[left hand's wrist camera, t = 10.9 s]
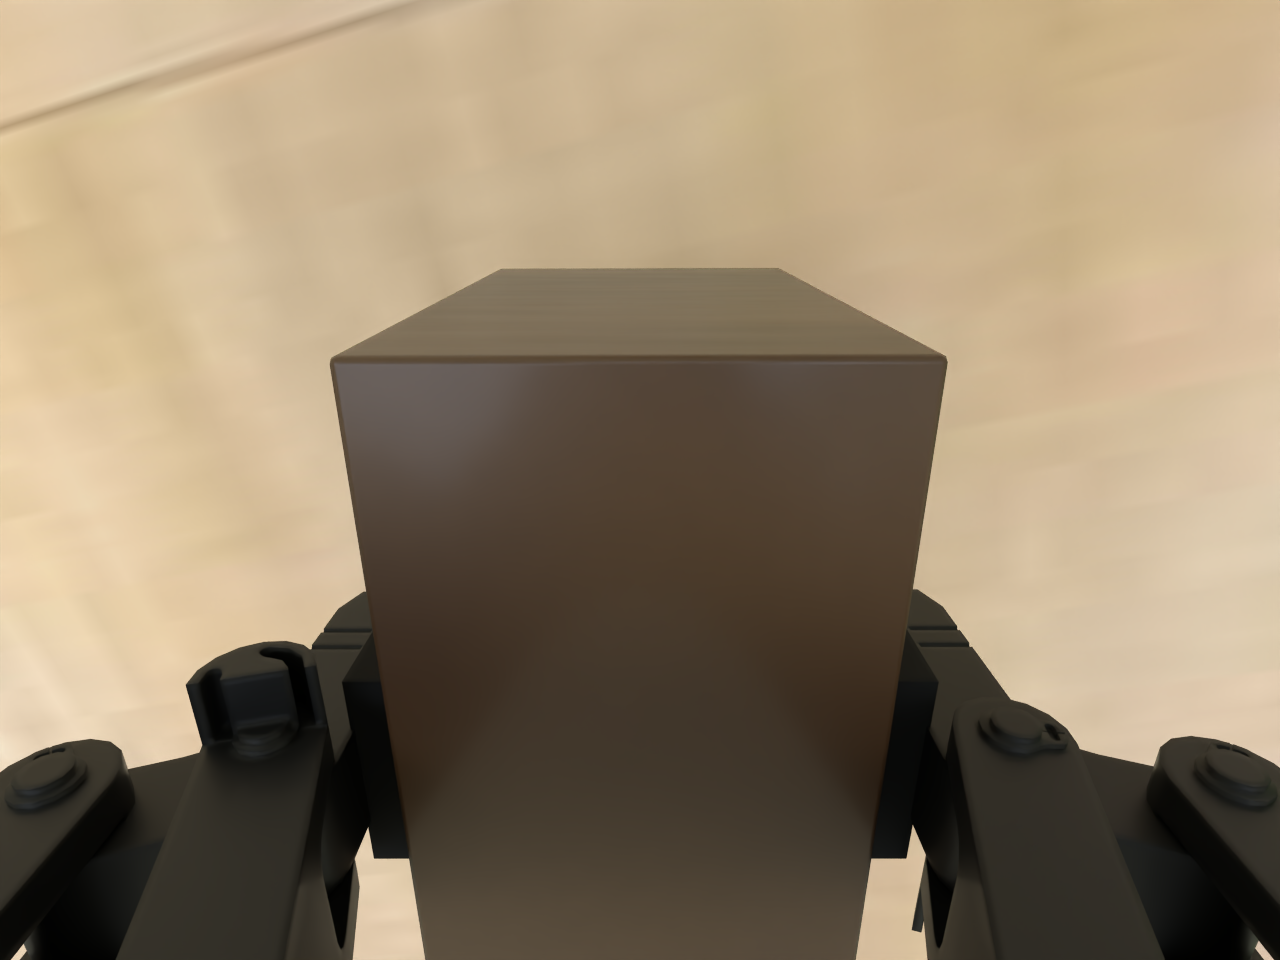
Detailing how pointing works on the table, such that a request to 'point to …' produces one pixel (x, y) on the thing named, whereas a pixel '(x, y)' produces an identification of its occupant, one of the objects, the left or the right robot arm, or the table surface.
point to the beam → (639, 604)
